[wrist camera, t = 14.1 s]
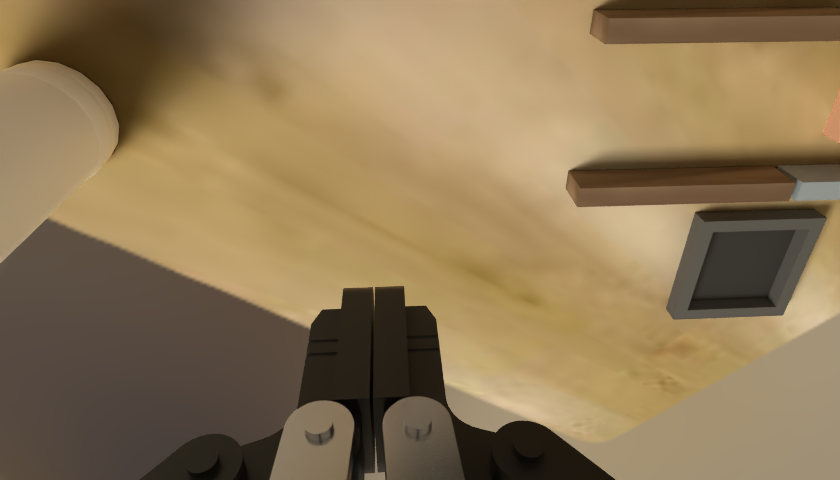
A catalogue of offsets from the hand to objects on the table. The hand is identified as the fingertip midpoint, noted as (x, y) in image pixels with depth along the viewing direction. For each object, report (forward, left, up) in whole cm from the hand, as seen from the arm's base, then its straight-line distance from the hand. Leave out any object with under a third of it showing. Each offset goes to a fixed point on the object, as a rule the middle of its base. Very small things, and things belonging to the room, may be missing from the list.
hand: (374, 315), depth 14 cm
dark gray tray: (+18, +30, -27) cm, 44 cm away
